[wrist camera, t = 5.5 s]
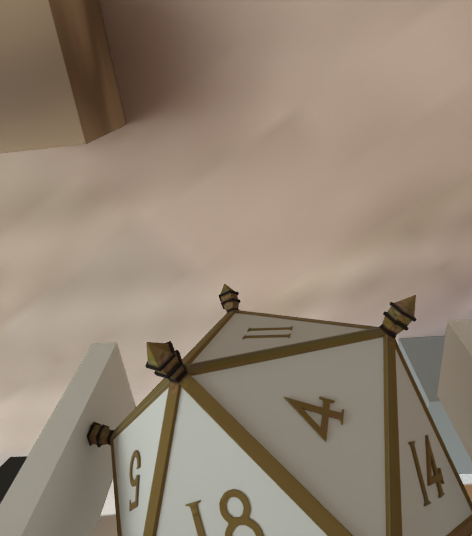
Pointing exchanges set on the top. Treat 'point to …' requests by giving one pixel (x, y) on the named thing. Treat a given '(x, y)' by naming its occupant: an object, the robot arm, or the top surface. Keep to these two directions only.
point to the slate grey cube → (434, 392)
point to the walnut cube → (55, 75)
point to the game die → (285, 436)
